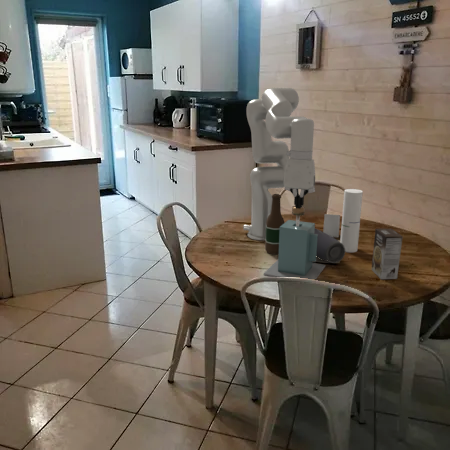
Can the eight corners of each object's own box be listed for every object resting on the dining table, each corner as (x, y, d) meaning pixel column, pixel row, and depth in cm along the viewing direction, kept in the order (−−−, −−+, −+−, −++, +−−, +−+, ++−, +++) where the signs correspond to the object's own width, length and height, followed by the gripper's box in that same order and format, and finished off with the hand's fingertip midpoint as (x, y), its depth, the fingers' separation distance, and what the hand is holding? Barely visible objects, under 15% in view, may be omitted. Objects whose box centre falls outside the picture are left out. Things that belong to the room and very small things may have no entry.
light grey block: (338, 237, 207) (340, 216, 205) (323, 236, 209) (324, 215, 206) (338, 234, 211) (339, 213, 208) (323, 234, 212) (324, 213, 209)
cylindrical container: (357, 252, 188) (363, 193, 181) (340, 251, 190) (344, 192, 182) (356, 247, 195) (362, 189, 188) (339, 245, 196) (344, 188, 189)
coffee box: (370, 269, 171) (374, 228, 167) (387, 269, 172) (391, 227, 167) (380, 279, 163) (385, 236, 158) (398, 279, 163) (403, 235, 158)
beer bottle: (271, 255, 185) (273, 197, 178) (261, 249, 191) (262, 193, 184) (287, 252, 188) (290, 195, 181) (276, 247, 195) (279, 191, 188)
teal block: (263, 274, 166) (265, 228, 161) (280, 258, 182) (281, 215, 177) (312, 284, 159) (315, 235, 154) (325, 266, 174) (328, 221, 169)
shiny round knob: (283, 251, 166) (285, 208, 161) (289, 245, 172) (291, 203, 168) (302, 254, 163) (305, 210, 158) (308, 248, 169) (311, 206, 165)
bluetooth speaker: (295, 248, 194) (296, 225, 191) (314, 245, 197) (316, 223, 194) (324, 267, 173) (326, 242, 170) (345, 264, 176) (347, 239, 173)
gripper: (276, 155, 158) (275, 207, 163) (319, 158, 151) (316, 212, 157) (283, 152, 164) (282, 202, 169) (325, 155, 158) (322, 207, 163)
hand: (298, 207), depth 163 cm, fingers closed
